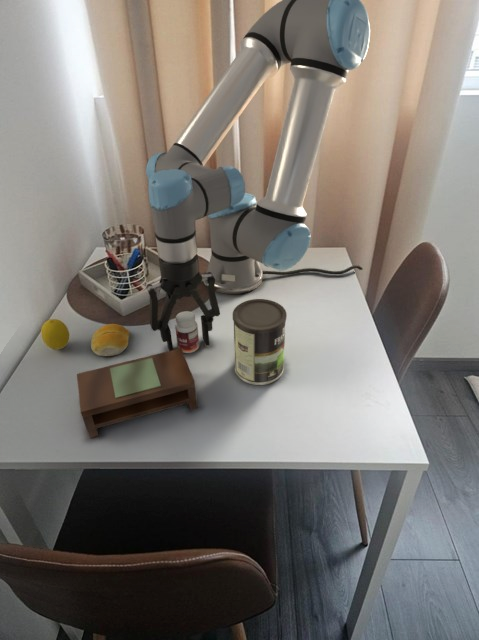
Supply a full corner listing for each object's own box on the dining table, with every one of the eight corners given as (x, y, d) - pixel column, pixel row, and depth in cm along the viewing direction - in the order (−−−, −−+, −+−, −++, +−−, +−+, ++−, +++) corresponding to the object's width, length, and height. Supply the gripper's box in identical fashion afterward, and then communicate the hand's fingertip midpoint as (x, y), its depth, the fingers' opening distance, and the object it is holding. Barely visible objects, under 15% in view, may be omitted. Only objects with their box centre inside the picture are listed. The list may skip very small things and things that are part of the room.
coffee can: (288, 356, 96) (291, 302, 87) (277, 389, 88) (280, 334, 79) (242, 348, 98) (241, 295, 90) (227, 379, 90) (225, 324, 82)
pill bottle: (173, 347, 99) (169, 317, 94) (189, 337, 101) (186, 307, 96) (187, 356, 96) (184, 326, 91) (203, 346, 99) (201, 315, 94)
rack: (184, 373, 92) (181, 347, 88) (197, 407, 84) (194, 380, 80) (85, 399, 87) (76, 372, 82) (89, 438, 79) (80, 411, 75)
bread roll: (131, 330, 104) (128, 316, 102) (128, 355, 97) (124, 341, 94) (95, 333, 103) (91, 319, 101) (89, 359, 96) (85, 345, 94)
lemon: (65, 358, 97) (55, 329, 92) (42, 355, 98) (31, 326, 93) (77, 342, 101) (68, 313, 96) (55, 339, 102) (45, 311, 97)
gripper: (222, 237, 90) (226, 326, 104) (121, 255, 85) (140, 346, 99) (234, 253, 85) (237, 345, 98) (127, 274, 79) (146, 368, 93)
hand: (188, 346), depth 99 cm, fingers open, 7 cm apart
